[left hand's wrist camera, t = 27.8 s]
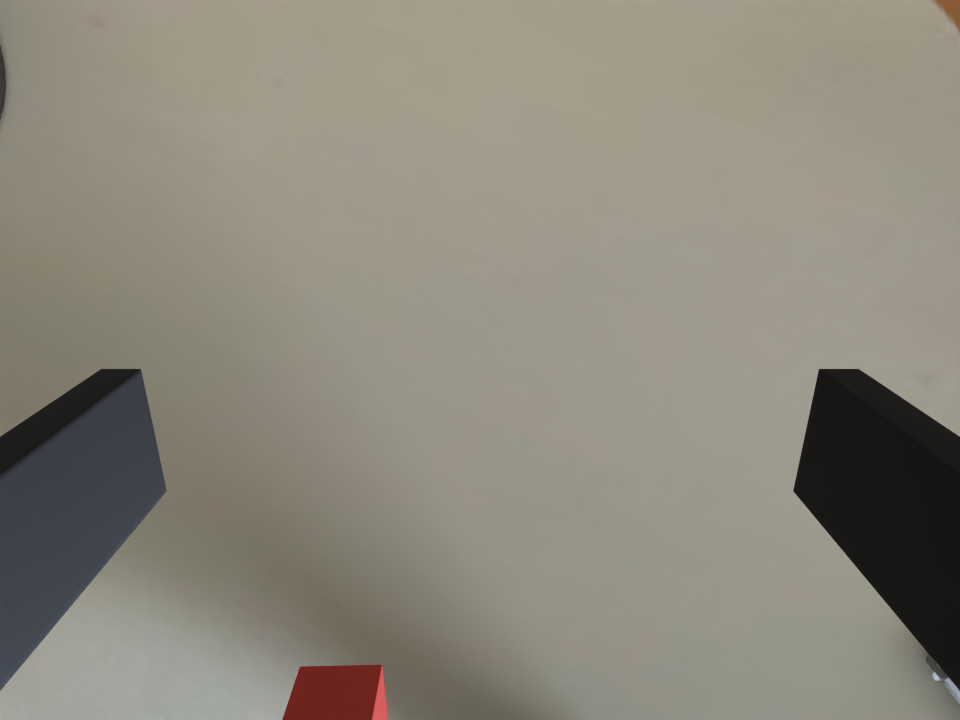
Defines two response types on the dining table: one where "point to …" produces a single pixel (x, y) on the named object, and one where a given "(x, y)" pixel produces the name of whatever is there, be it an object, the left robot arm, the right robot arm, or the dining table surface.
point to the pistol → (943, 678)
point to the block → (338, 694)
